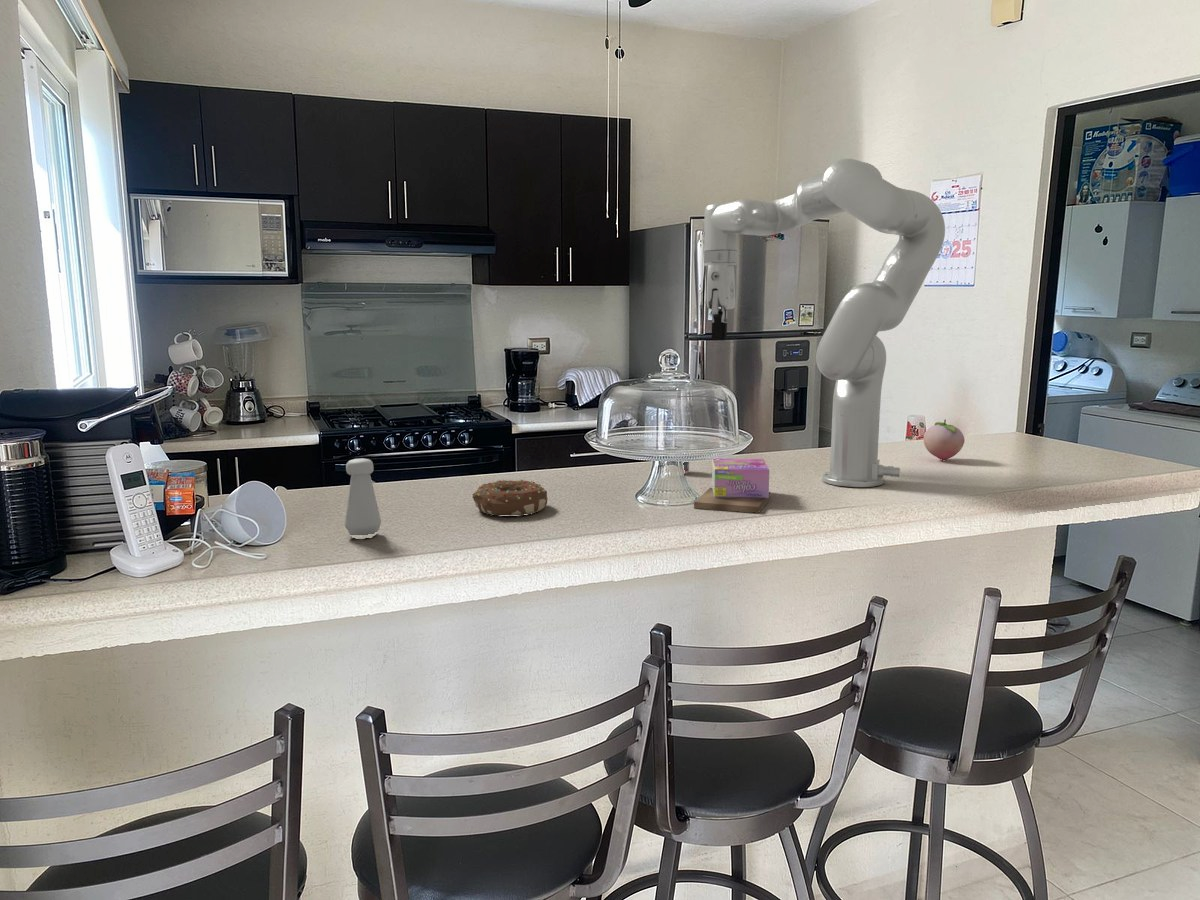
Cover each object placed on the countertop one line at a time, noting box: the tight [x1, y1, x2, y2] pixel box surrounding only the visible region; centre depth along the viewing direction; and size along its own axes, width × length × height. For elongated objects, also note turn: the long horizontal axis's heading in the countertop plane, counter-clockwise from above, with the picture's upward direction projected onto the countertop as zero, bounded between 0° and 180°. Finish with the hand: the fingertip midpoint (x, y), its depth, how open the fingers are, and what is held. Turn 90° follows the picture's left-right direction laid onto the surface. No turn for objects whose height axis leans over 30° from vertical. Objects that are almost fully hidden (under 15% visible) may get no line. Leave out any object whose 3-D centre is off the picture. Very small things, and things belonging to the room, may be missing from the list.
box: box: [711, 457, 770, 498], centre depth 166 cm, size 10×6×12 cm
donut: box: [472, 479, 548, 515], centre depth 158 cm, size 14×14×5 cm
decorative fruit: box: [923, 419, 965, 461], centre depth 202 cm, size 9×8×10 cm
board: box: [693, 487, 771, 514], centre depth 162 cm, size 12×13×1 cm
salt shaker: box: [344, 457, 382, 535], centre depth 140 cm, size 6×6×13 cm
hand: (719, 339), depth 198 cm, fingers closed
